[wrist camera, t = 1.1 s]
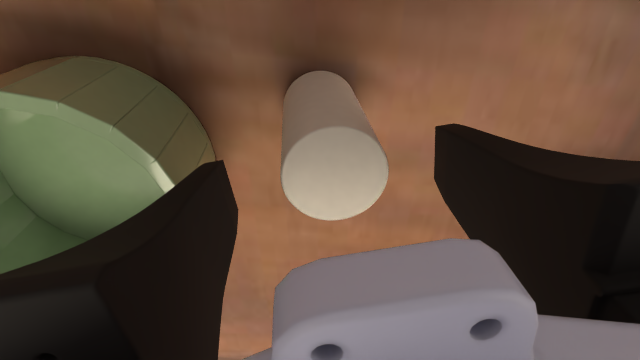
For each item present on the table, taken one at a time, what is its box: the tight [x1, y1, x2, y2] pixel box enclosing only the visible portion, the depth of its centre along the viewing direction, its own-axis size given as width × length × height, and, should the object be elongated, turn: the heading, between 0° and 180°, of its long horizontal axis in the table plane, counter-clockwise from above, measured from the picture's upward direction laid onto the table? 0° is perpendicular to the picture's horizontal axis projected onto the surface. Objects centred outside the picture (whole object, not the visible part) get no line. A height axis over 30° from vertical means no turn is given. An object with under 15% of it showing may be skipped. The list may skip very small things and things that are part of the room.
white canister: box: [281, 71, 389, 220], centre depth 15 cm, size 4×4×7 cm
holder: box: [0, 56, 216, 274], centre depth 17 cm, size 11×11×6 cm
